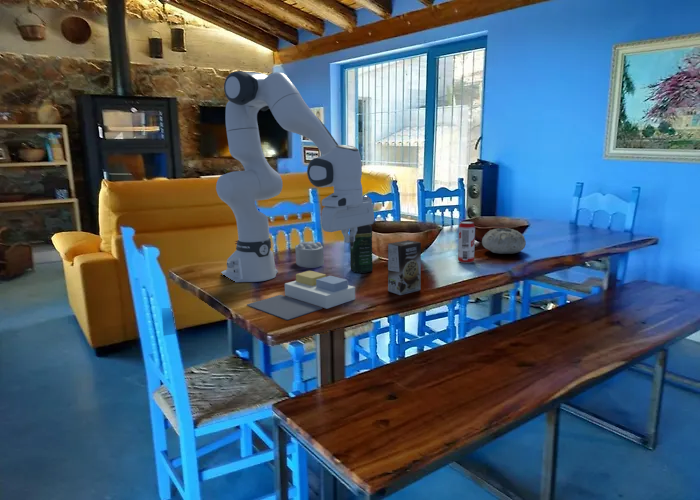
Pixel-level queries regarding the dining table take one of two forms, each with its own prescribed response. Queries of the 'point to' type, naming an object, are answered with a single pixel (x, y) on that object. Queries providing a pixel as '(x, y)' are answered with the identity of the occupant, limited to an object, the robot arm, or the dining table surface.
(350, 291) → the block
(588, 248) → the dining table surface
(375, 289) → the dining table surface
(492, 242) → the grey rounded lump
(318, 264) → the lumpy-topped squat cylinder
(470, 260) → the beer can
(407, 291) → the coffee box
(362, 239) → the coffee jar
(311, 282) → the olive yellow block
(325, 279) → the blue-grey rectangular block
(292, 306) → the mat
